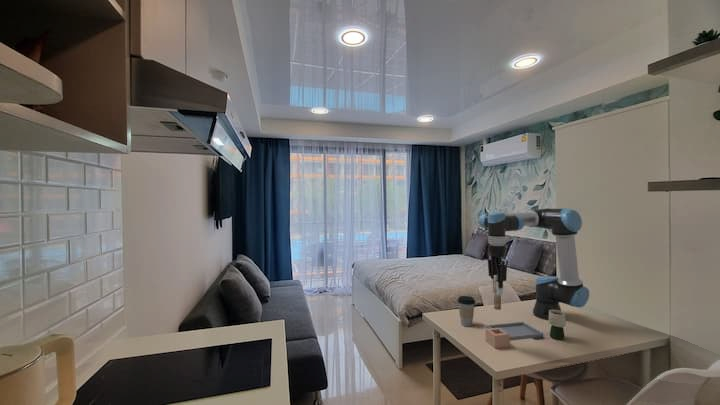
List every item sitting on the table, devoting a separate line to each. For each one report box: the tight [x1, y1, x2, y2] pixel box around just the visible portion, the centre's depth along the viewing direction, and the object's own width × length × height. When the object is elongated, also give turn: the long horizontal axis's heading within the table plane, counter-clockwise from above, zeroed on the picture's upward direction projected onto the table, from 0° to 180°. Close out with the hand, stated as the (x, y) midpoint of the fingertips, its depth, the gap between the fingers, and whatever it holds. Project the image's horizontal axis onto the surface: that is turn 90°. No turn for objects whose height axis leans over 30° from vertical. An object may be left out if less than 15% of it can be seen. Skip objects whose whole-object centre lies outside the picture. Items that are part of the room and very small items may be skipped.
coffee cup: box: [457, 295, 476, 328], centre depth 173 cm, size 9×9×15 cm
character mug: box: [548, 310, 567, 340], centre depth 155 cm, size 11×7×13 cm, turn 110°
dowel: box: [493, 275, 502, 311], centre depth 148 cm, size 3×3×16 cm
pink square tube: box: [485, 328, 511, 350], centre depth 148 cm, size 8×8×7 cm
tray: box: [485, 321, 544, 341], centre depth 161 cm, size 22×15×2 cm
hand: (497, 293), depth 148 cm, fingers closed on dowel, 3 cm apart
